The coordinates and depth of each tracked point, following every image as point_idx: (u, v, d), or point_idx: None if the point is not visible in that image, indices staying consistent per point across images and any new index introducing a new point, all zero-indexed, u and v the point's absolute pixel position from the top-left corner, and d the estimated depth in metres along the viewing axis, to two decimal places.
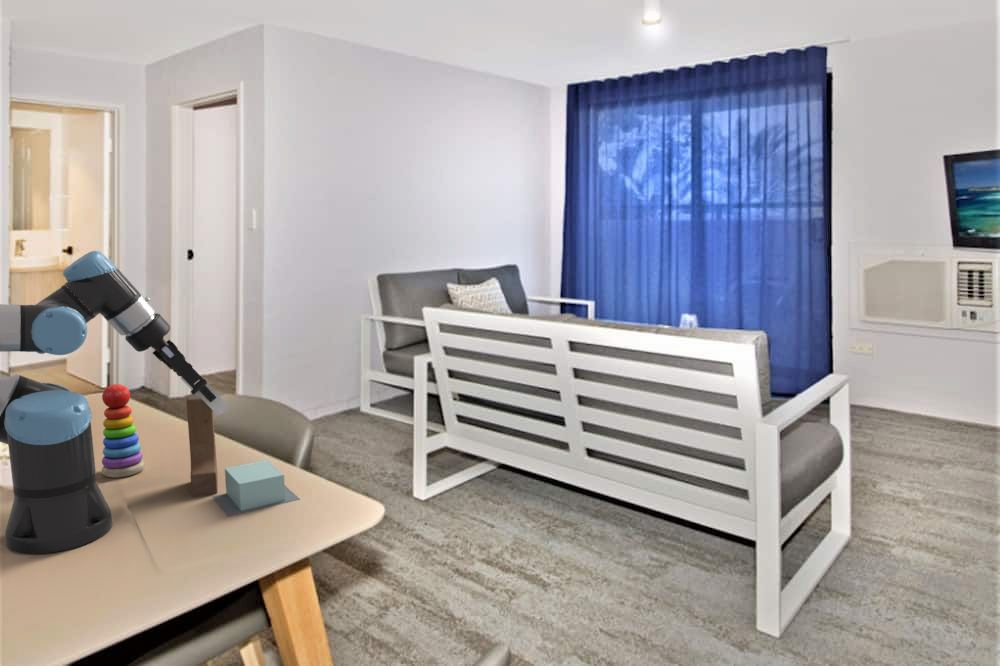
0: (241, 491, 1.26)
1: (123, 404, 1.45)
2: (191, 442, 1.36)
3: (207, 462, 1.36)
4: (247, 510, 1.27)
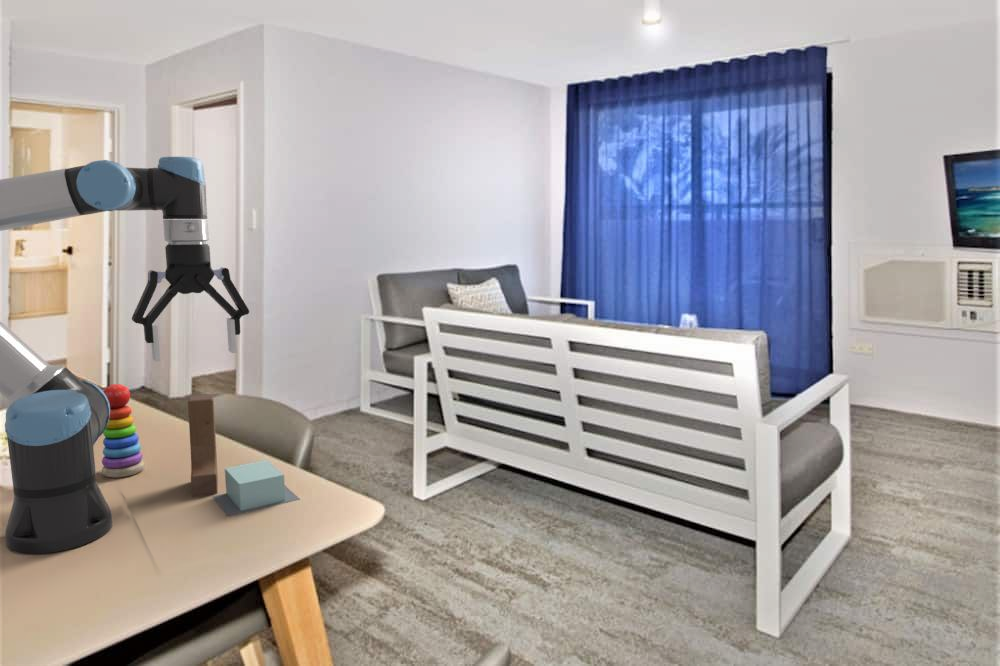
0: (241, 491, 1.26)
1: (123, 404, 1.45)
2: (192, 442, 1.36)
3: (207, 463, 1.36)
4: (247, 510, 1.27)
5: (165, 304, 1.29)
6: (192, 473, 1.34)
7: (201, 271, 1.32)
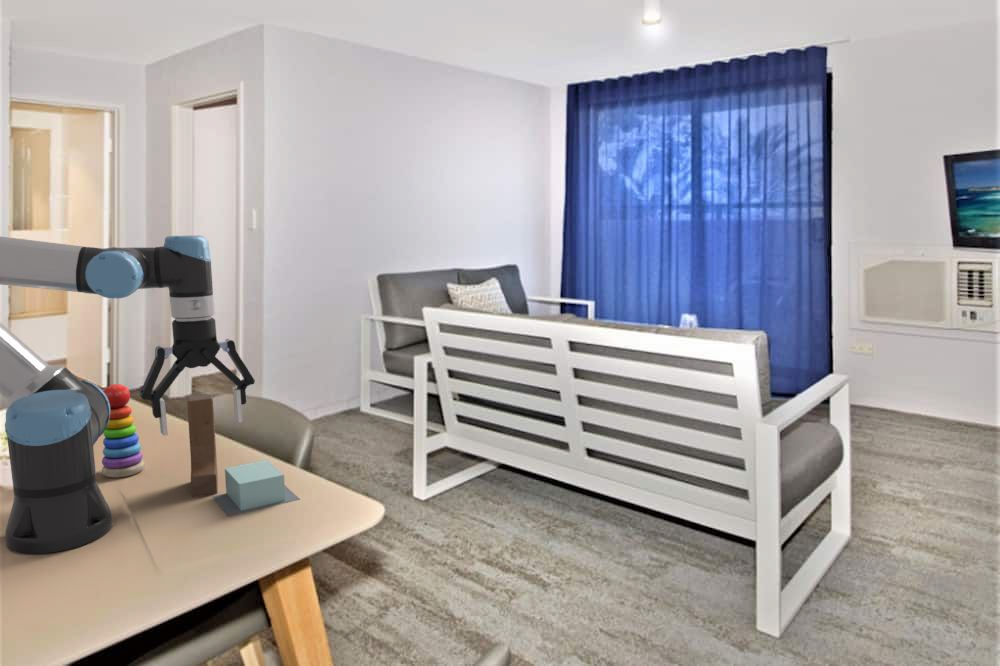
0: (241, 491, 1.26)
1: (123, 404, 1.45)
2: (191, 443, 1.36)
3: (207, 463, 1.36)
4: (247, 510, 1.27)
5: (172, 379, 1.31)
6: (192, 473, 1.34)
7: (207, 345, 1.34)
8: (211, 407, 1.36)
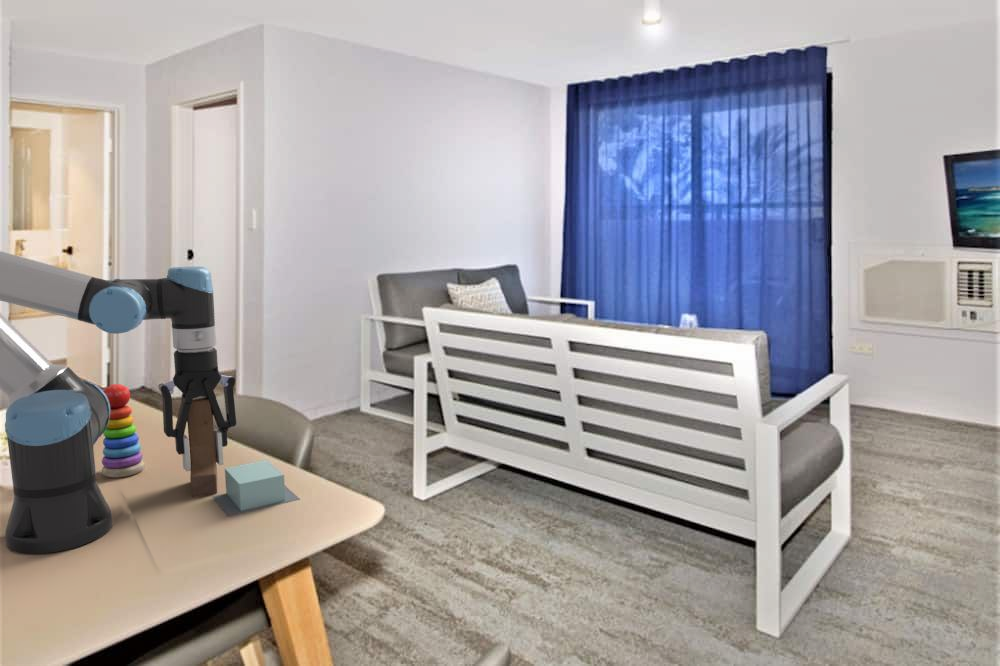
0: (241, 491, 1.26)
1: (123, 404, 1.45)
2: (191, 443, 1.36)
3: (207, 463, 1.36)
4: (247, 510, 1.27)
5: (186, 413, 1.33)
6: (191, 473, 1.34)
7: (210, 373, 1.35)
8: (210, 407, 1.36)
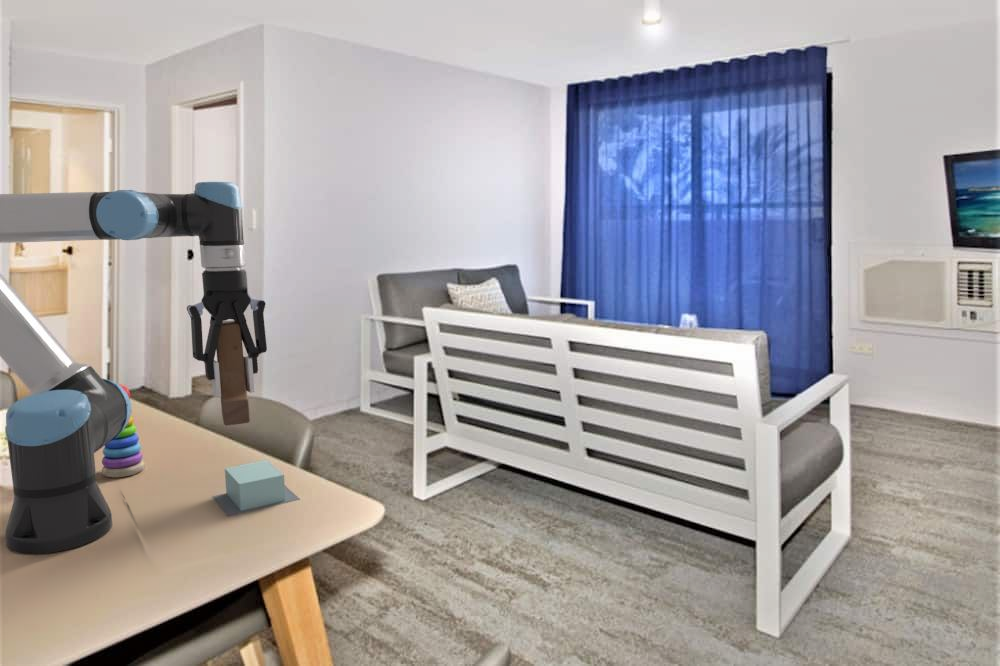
0: (241, 491, 1.26)
1: None
2: (220, 369, 1.30)
3: (237, 390, 1.31)
4: (247, 510, 1.27)
5: (216, 336, 1.28)
6: (223, 399, 1.28)
7: (240, 294, 1.29)
8: (240, 331, 1.31)
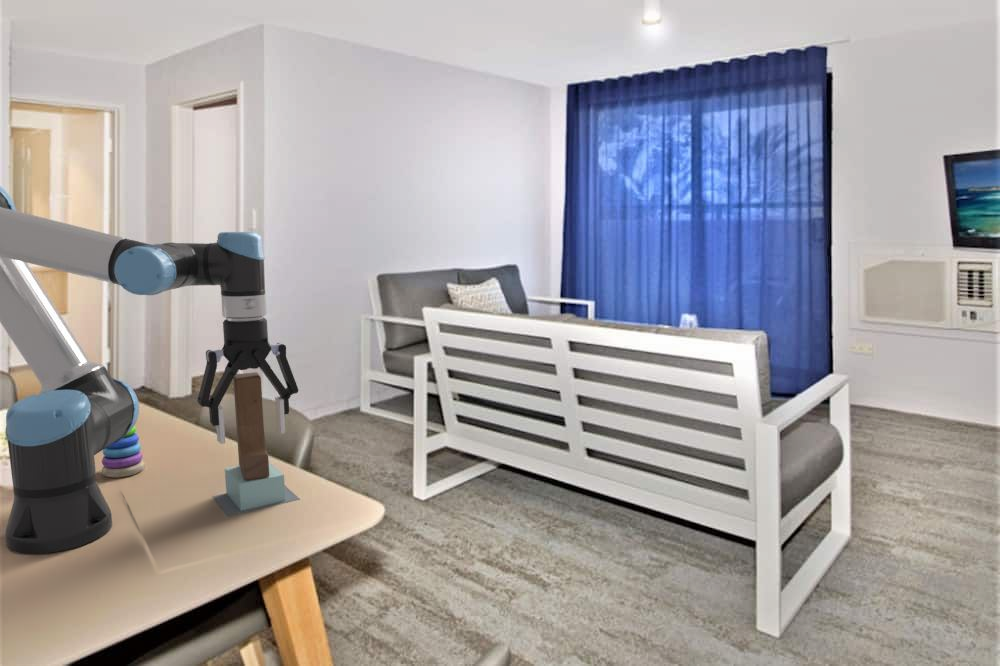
0: (241, 491, 1.26)
1: None
2: (240, 422, 1.30)
3: (257, 444, 1.30)
4: (247, 510, 1.27)
5: (228, 384, 1.26)
6: (243, 454, 1.28)
7: (259, 345, 1.29)
8: (260, 385, 1.30)
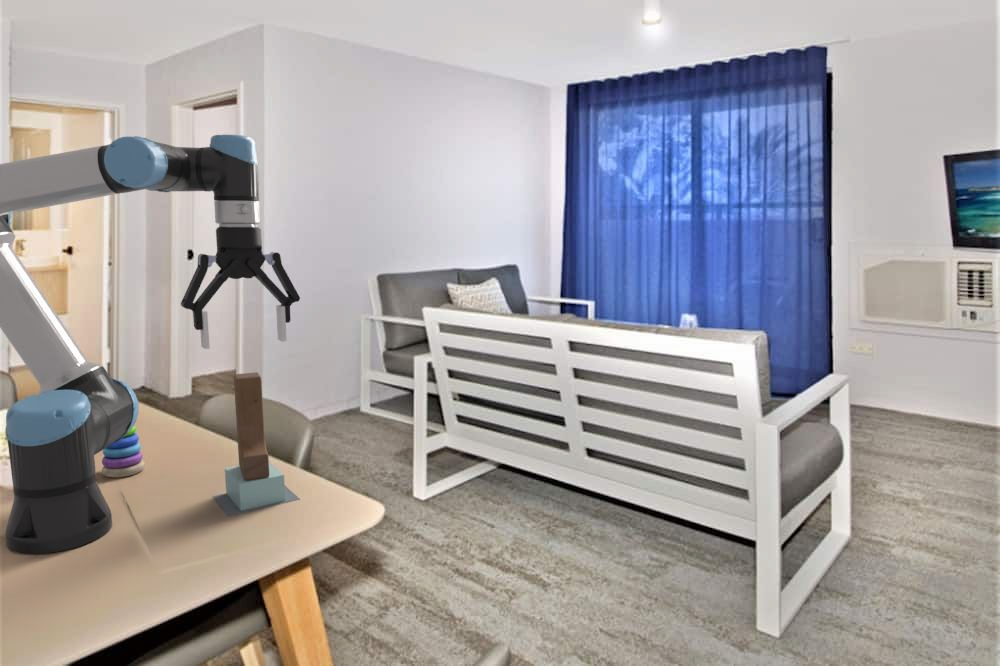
0: (241, 491, 1.26)
1: None
2: (240, 422, 1.30)
3: (257, 444, 1.30)
4: (247, 510, 1.27)
5: (215, 289, 1.23)
6: (243, 454, 1.28)
7: (252, 255, 1.26)
8: (260, 385, 1.30)
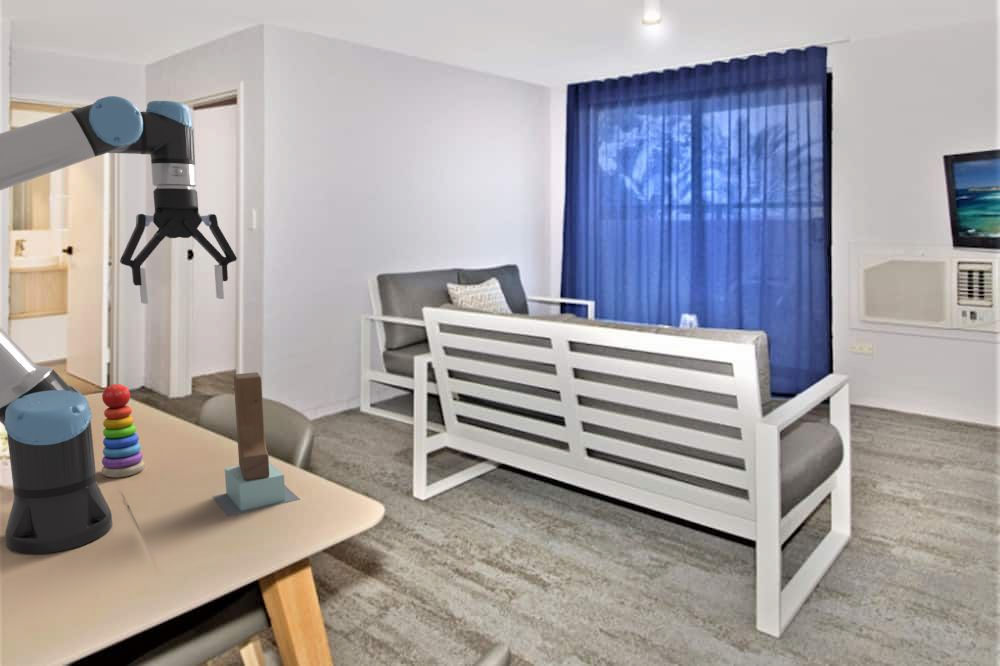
0: (241, 491, 1.26)
1: (123, 404, 1.45)
2: (240, 422, 1.30)
3: (257, 444, 1.30)
4: (247, 510, 1.27)
5: (153, 247, 1.31)
6: (243, 454, 1.28)
7: (189, 216, 1.34)
8: (260, 385, 1.30)
